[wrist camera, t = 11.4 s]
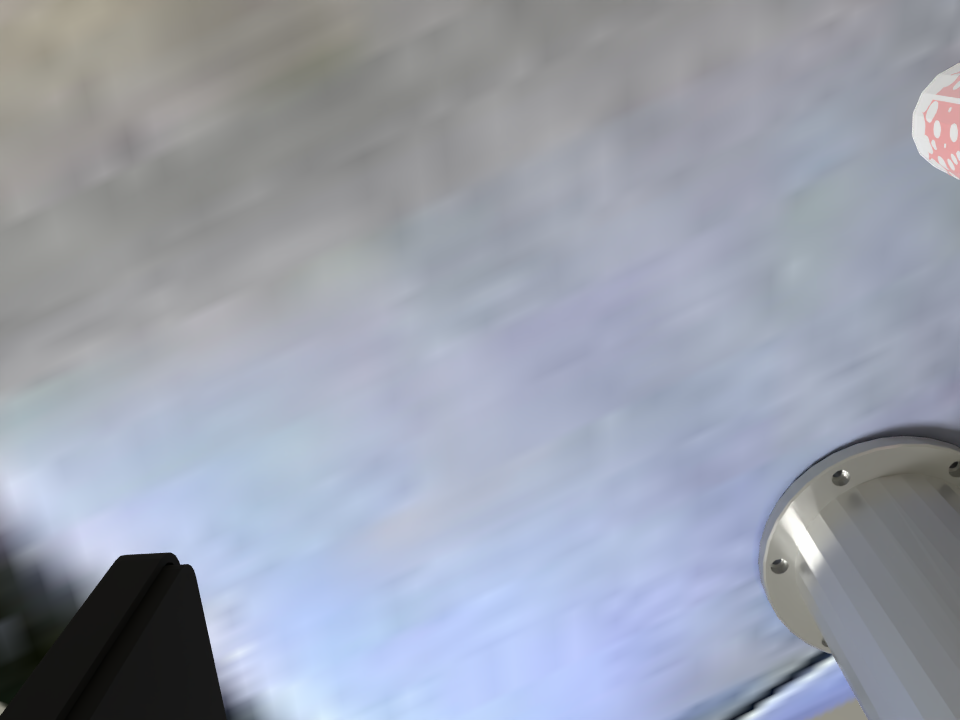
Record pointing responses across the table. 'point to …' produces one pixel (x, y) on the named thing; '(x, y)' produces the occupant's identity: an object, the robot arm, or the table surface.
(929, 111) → the beverage cup
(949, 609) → the robot arm
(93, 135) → the table surface
